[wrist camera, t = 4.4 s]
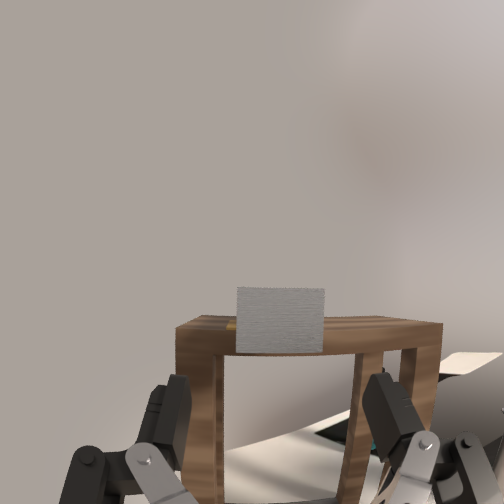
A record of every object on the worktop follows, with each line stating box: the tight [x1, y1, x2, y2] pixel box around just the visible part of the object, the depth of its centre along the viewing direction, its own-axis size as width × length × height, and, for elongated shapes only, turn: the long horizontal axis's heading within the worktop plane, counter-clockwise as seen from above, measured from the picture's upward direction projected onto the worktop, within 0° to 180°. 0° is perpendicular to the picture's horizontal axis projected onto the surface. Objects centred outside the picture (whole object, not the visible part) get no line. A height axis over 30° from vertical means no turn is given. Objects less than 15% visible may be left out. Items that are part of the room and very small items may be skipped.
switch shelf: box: [175, 315, 443, 504], centre depth 29 cm, size 16×24×32 cm, turn 92°
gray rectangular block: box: [236, 287, 324, 353], centre depth 25 cm, size 24×4×3 cm, turn 2°
